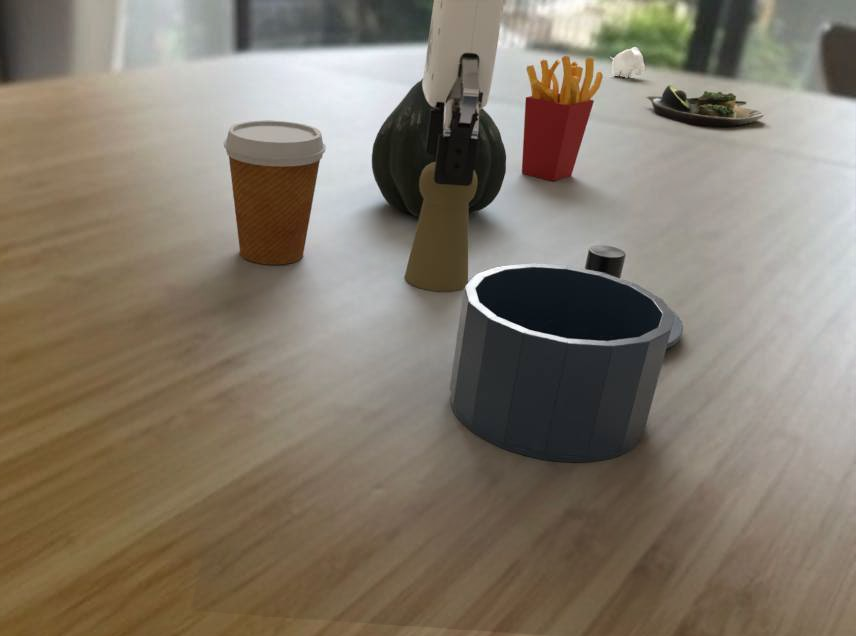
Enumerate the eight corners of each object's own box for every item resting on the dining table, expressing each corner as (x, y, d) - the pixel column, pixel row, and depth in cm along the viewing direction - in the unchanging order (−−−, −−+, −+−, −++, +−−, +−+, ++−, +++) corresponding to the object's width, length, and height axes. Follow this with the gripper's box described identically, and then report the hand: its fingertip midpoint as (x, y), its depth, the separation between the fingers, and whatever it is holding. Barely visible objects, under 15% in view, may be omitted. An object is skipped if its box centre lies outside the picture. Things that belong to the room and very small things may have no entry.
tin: (616, 372, 71) (641, 270, 66) (669, 469, 59) (703, 352, 55) (442, 360, 71) (456, 258, 67) (459, 455, 59) (477, 337, 55)
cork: (481, 284, 85) (499, 168, 80) (432, 296, 82) (447, 176, 77) (439, 263, 89) (453, 152, 84) (391, 273, 86) (402, 159, 81)
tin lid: (652, 295, 85) (669, 228, 82) (704, 367, 72) (726, 290, 69) (495, 285, 85) (506, 217, 82) (520, 355, 72) (534, 278, 69)
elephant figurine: (638, 81, 190) (644, 52, 187) (601, 76, 194) (606, 47, 191) (647, 77, 195) (653, 48, 192) (610, 72, 199) (616, 44, 196)
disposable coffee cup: (299, 278, 84) (305, 149, 78) (206, 260, 87) (205, 134, 81) (332, 247, 92) (340, 127, 86) (247, 231, 95) (249, 114, 89)
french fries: (556, 184, 117) (578, 62, 110) (501, 170, 122) (519, 53, 115) (588, 173, 123) (611, 57, 116) (535, 160, 128) (554, 47, 120)
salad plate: (708, 102, 173) (714, 77, 171) (786, 123, 159) (794, 96, 157) (632, 107, 165) (637, 81, 163) (707, 130, 151) (715, 101, 149)
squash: (530, 187, 95) (509, 59, 98) (392, 193, 93) (375, 61, 96) (488, 238, 109) (471, 125, 112) (366, 244, 107) (352, 128, 110)
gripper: (422, -53, 80) (401, 141, 88) (437, -40, 65) (410, 193, 73) (506, -47, 80) (478, 147, 88) (541, -32, 65) (502, 200, 73)
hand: (447, 168), depth 81 cm, fingers open, 9 cm apart
